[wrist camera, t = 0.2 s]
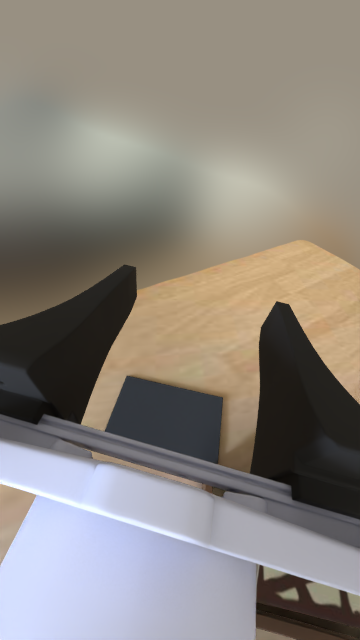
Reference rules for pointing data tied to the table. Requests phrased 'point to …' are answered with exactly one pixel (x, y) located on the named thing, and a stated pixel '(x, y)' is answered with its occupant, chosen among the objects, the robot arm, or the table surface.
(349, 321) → the table surface
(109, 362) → the table surface
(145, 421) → the rubber mat
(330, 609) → the food container
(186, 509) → the robot arm
